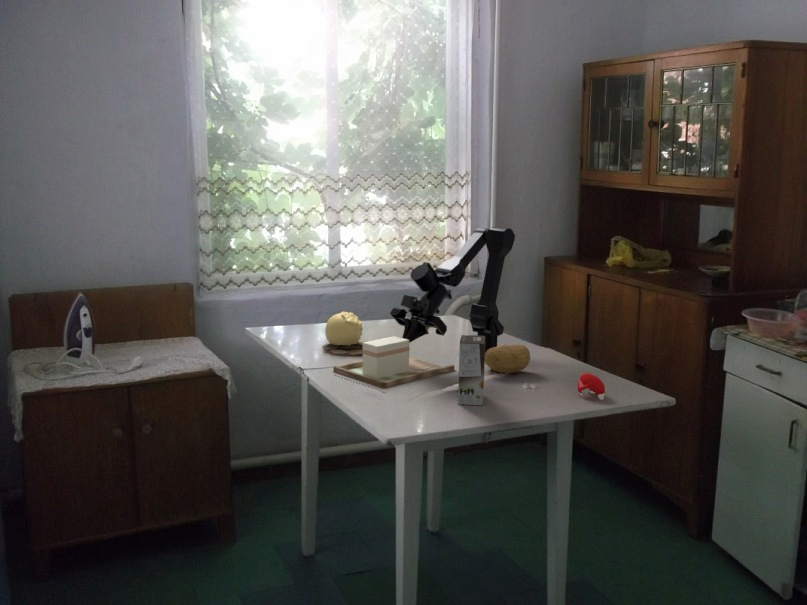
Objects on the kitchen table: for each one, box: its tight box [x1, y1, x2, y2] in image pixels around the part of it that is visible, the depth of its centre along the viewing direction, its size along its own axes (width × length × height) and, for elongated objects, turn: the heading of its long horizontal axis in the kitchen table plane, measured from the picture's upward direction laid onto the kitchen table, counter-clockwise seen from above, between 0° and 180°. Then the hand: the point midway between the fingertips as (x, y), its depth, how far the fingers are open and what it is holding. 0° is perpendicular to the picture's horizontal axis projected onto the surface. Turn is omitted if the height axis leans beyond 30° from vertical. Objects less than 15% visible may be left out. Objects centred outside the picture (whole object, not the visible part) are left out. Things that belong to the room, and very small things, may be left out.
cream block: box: [361, 335, 410, 379], centre depth 233 cm, size 12×6×9 cm, turn 133°
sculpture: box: [324, 311, 364, 346], centre depth 269 cm, size 12×12×11 cm
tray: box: [333, 356, 455, 389], centre depth 236 cm, size 27×21×2 cm
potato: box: [485, 344, 531, 374], centre depth 239 cm, size 10×14×8 cm
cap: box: [576, 372, 606, 396], centre depth 218 cm, size 8×6×6 cm
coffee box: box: [457, 334, 486, 406], centre depth 213 cm, size 9×6×16 cm
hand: (402, 344), depth 237 cm, fingers closed, pressing on cream block
